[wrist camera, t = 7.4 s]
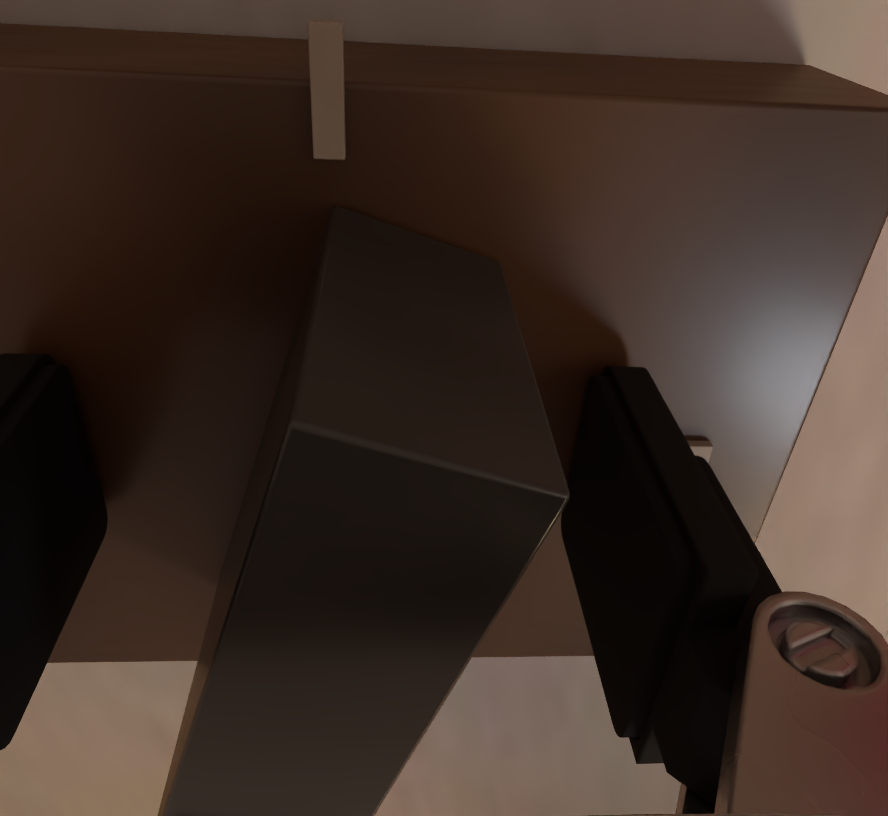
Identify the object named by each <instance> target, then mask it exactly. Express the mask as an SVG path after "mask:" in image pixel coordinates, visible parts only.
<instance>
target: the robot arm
mask: <svg viewBox="0 0 888 816" xmlns="http://www.w3.org/2000/svg"><path fill="white" fill-rule="evenodd" d="M567 485H568V489H569V492H570V497H569V501H568V503H567V504H566V506H565V507H564V509H563V511H562V515H561V532H562V538H563V542H564V546H565V549H566V553H567V557H568V561H569V564H570V568H571V572H572V575H573V579H574V583H575V586H576V590H577V594H578V598H579V601H580V605H581V609H582V612H583V616H584V620H585V623H586V627H587V631H588V634H589V638H590V642H591V646H592V649H593V653H594V657H595V660H596V664H597V668H598V671H599V675H600V679H601V682H602V686H603V690H604V694H605V697H606V701H607V705H608V708H609V712H610V716H611V719H612V723H613V726H614V729H615V732H616V734H617V735H618V736H619V737H620V738H622V737H629V739H630V743H631V746H632V750H633V753H634V757H635V760H636V764H650V763H664V765H665V768H666V771H667V773H669V774H670V775H671V776H673V777H674V778H675V779H677V780H678V781H679V782H681V786H680V792H679V797H678V802H677V807H676V812H675V814H632V815H589V816H888V644H887V642H886V641H885V639H884V638H883V636H882V635H881V634H880V633H879V632H878V631H877V630H876V629H875V628H874V627H873V626H872V625H871V624H870V623H869V622H868V621H867V620H866V619H865V618H863V617H862V616H860V615H859V614H857V613H856V612H854V611H853V610H851V609H850V608H848V607H847V606H845V605H843V604H840V603H838V602H836V601H833V600H831V599H829V598H827V597H824V596H820V595H815V594H811V593H807V592H782V591H781V589H780V588H779V586H778V584H777V582H776V581H775V579H774V577H773V575H772V574H771V572H770V570H769V568H768V567H767V565H766V563H765V561H764V560H763V558H762V556H761V554H760V552H759V551H758V549H757V547H756V545H755V544H754V542H753V540H752V538H751V537H750V535H749V533H748V531H747V530H746V528H745V526H744V524H743V523H742V521H741V519H740V517H739V516H738V514H737V512H736V510H735V509H734V507H733V505H732V503H731V502H730V500H729V498H728V496H727V494H726V493H725V491H724V489H723V487H722V486H721V484H720V482H719V480H718V479H717V477H716V475H715V473H714V472H713V470H712V468H711V466H710V465H709V464H708V462H707V461H706V460H705V459H704V458H703V457H700V456H695V455H694V453H693V451H692V449H691V448H690V446H689V444H688V442H687V440H686V439H685V437H684V435H683V433H682V431H681V429H680V428H679V426H678V424H677V422H676V420H675V419H674V417H673V415H672V413H671V411H670V410H669V408H668V406H667V404H666V402H665V400H664V399H663V397H662V395H661V393H660V391H659V390H658V388H657V386H656V384H655V382H654V381H653V379H652V377H651V375H650V373H649V372H648V370H647V369H646V368H645V367H620V366H606V367H605V368H604V369H603V371H602V373H601V376H591V377H590V379H589V381H588V384H587V389H586V394H585V399H584V404H583V409H582V414H581V419H580V424H579V429H578V434H577V439H576V444H575V449H574V454H573V459H572V464H571V469H570V474H569V479H568V484H567ZM107 524H108V514H107V509H106V505H105V501H104V497H103V494H102V490H101V486H100V482H99V479H98V475H97V471H96V467H95V464H94V460H93V456H92V452H91V449H90V445H89V441H88V437H87V434H86V430H85V426H84V422H83V419H82V415H81V411H80V407H79V404H78V400H77V396H76V392H75V389H74V385H73V381H72V377H71V374H70V371H69V370H68V368H67V367H66V366H64V365H57V364H56V361H55V360H54V359H53V357H52V356H50V355H48V354H21V353H4V354H1V355H0V750H2V749H4V748H6V746H7V745H8V744H9V743H10V741H11V740H12V738H13V736H14V734H15V732H16V730H17V727H18V725H19V723H20V721H21V719H22V716H23V714H24V712H25V710H26V708H27V706H28V703H29V701H30V699H31V697H32V695H33V692H34V690H35V688H36V686H37V684H38V682H39V679H40V677H41V675H42V673H43V671H44V668H45V666H46V664H47V662H48V660H49V657H50V655H51V653H52V651H53V649H54V647H55V644H56V642H57V640H58V638H59V636H60V633H61V631H62V629H63V627H64V625H65V623H66V620H67V618H68V616H69V614H70V612H71V609H72V607H73V605H74V603H75V601H76V599H77V596H78V594H79V592H80V590H81V588H82V585H83V583H84V581H85V579H86V577H87V574H88V572H89V570H90V568H91V566H92V564H93V561H94V559H95V557H96V555H97V553H98V550H99V548H100V546H101V544H102V542H103V540H104V537H105V534H106V530H107Z"/></svg>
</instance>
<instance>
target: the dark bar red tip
mask: <svg viewBox="0 0 888 816" xmlns="http://www.w3.org/2000/svg"><path fill="white" fill-rule="evenodd" d="M569 497H570V492H569V489H568V485H567V482H566V479H565V475H564V472H563V469H562V465H561V462H560V459H559V455H558V452H557V449H556V445H555V442H554V439H553V435H552V432H551V429H550V425H549V422H548V419H547V415H546V412H545V409H544V405H543V402H542V399H541V395H540V392H539V389H538V385H537V382H536V379H535V375H534V372H533V369H532V365H531V362H530V359H529V355H528V352H527V349H526V345H525V342H524V339H523V335H522V332H521V329H520V325H519V322H518V319H517V315H516V312H515V309H514V305H513V302H512V299H511V295H510V292H509V289H508V285H507V282H506V279H505V276H504V272H503V269H502V266H501V263H499V262H498V261H495V260H493V259H490V258H487V257H484V256H481V255H478V254H475V253H472V252H469V251H466V250H464V249H461V248H458V247H455V246H452V245H449V244H446V243H443V242H440V241H437V240H435V239H432V238H429V237H426V236H423V235H420V234H417V233H414V232H411V231H408V230H405V229H403V228H400V227H397V226H394V225H391V224H388V223H385V222H382V221H379V220H376V219H374V218H371V217H368V216H365V215H362V214H359V213H356V212H353V211H350V210H347V209H345V208H342V207H339V206H334V207H333V209H332V210H331V214H330V217H329V220H328V223H327V227H326V230H325V233H324V237H323V240H322V243H321V246H320V250H319V253H318V256H317V260H316V263H315V266H314V270H313V273H312V276H311V279H310V283H309V286H308V289H307V293H306V296H305V299H304V302H303V306H302V309H301V312H300V316H299V319H298V322H297V326H296V329H295V332H294V335H293V339H292V342H291V345H290V349H289V352H288V355H287V358H286V362H285V365H284V368H283V372H282V375H281V378H280V382H279V385H278V388H277V391H276V395H275V398H274V401H273V405H272V408H271V411H270V415H269V418H268V421H267V424H266V428H265V431H264V434H263V438H262V441H261V444H260V447H259V451H258V454H257V457H256V461H255V464H254V467H253V471H252V474H251V477H250V480H249V484H248V487H247V490H246V494H245V497H244V500H243V503H242V507H241V510H240V513H239V517H238V520H237V523H236V527H235V530H234V533H233V536H232V540H231V543H230V546H229V550H228V553H227V556H226V559H225V563H224V566H223V569H222V573H221V576H220V579H219V583H218V586H217V589H216V593H215V597H214V601H213V604H212V608H211V612H210V616H209V620H208V624H207V627H206V631H205V635H204V639H203V643H202V647H201V651H200V654H199V658H198V662H197V666H196V670H195V674H194V677H193V681H192V685H191V689H190V693H189V697H188V701H187V704H186V708H185V712H184V716H183V720H182V724H181V727H180V731H179V735H178V739H177V743H176V747H175V750H174V754H173V758H172V762H171V766H170V770H169V774H168V777H167V781H166V785H165V789H164V793H163V797H162V800H161V804H160V808H159V812H158V816H374V815H375V813H376V811H377V810H378V808H379V807H380V805H381V803H382V802H383V800H384V798H385V797H386V795H387V794H388V792H389V790H390V789H391V787H392V786H393V784H394V782H395V781H396V779H397V777H398V776H399V774H400V773H401V771H402V769H403V768H404V766H405V764H406V763H407V761H408V760H409V758H410V756H411V755H412V753H413V752H414V750H415V748H416V747H417V745H418V743H419V742H420V740H421V739H422V737H423V735H424V734H425V732H426V731H427V729H428V727H429V726H430V724H431V722H432V721H433V719H434V718H435V716H436V714H437V713H438V711H439V710H440V708H441V706H442V705H443V703H444V701H445V700H446V698H447V697H448V695H449V693H450V692H451V690H452V689H453V687H454V685H455V684H456V682H457V680H458V679H459V677H460V676H461V674H462V672H463V671H464V669H465V668H466V666H467V664H468V663H469V661H470V659H471V658H472V656H473V655H474V653H475V651H476V650H477V648H478V646H479V645H480V643H481V642H482V640H483V638H484V637H485V635H486V634H487V632H488V630H489V629H490V627H491V625H492V624H493V622H494V621H495V619H496V617H497V616H498V614H499V613H500V611H501V609H502V608H503V606H504V604H505V603H506V601H507V600H508V598H509V596H510V595H511V593H512V592H513V590H514V588H515V587H516V585H517V583H518V582H519V580H520V579H521V577H522V575H523V574H524V572H525V571H526V569H527V567H528V566H529V564H530V562H531V561H532V559H533V558H534V556H535V554H536V553H537V551H538V549H539V548H540V546H541V545H542V543H543V541H544V540H545V538H546V537H547V535H548V533H549V532H550V530H551V528H552V527H553V525H554V524H555V522H556V520H557V519H558V517H559V516H560V514H561V512H562V511H563V509H564V507H565V506H566V504H567V503H568V501H569Z"/></svg>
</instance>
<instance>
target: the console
mask: <svg viewBox="0 0 888 816" xmlns="http://www.w3.org/2000/svg"><path fill="white" fill-rule="evenodd" d="M334 206H339V207H342V208H345V209H347V210H350V211H353V212H356V213H359V214H362V215H365V216H368V217H371V218H374V219H376V220H379V221H382V222H385V223H388V224H391V225H394V226H397V227H400V228H403V229H405V230H408V231H411V232H414V233H417V234H420V235H423V236H426V237H429V238H432V239H435V240H437V241H440V242H443V243H446V244H449V245H452V246H455V247H458V248H461V249H464V250H466V251H469V252H472V253H475V254H478V255H481V256H484V257H487V258H490V259H493V260H495V261H498V262H499V263H501V266H502V269H503V272H504V276H505V279H506V282H507V285H508V289H509V292H510V295H511V299H512V302H513V305H514V309H515V312H516V315H517V319H518V322H519V325H520V329H521V332H522V335H523V339H524V342H525V345H526V349H527V352H528V355H529V359H530V362H531V365H532V369H533V372H534V375H535V379H536V382H537V385H538V389H539V392H540V395H541V399H542V402H543V405H544V409H545V412H546V415H547V419H548V422H549V425H550V429H551V432H552V435H553V439H554V442H555V445H556V449H557V452H558V455H559V459H560V462H561V465H562V469H563V472H564V475H565V479H566V482H567V484H568V479H569V474H570V469H571V464H572V459H573V454H574V449H575V444H576V439H577V434H578V429H579V424H580V419H581V414H582V409H583V404H584V399H585V394H586V389H587V384H588V381H589V379H590V377H591V376H601V373H602V371H603V369H604V368H605V367H606V366H620V367H645V368H646V369H647V370H648V372H649V373H650V375H651V377H652V379H653V381H654V382H655V384H656V386H657V388H658V390H659V391H660V393H661V395H662V397H663V399H664V400H665V402H666V404H667V406H668V408H669V410H670V411H671V413H672V415H673V417H674V419H675V420H676V422H677V424H678V426H679V428H680V429H681V431H682V433H683V435H684V437H685V439H686V440H687V442H688V444H689V446H690V448H691V449H692V451H693V453H694V455H695V456H700V457H703V458H704V459H705V460H706V461H707V462H708V464H709V465H710V466H711V468H712V470H713V472H714V473H715V475H716V477H717V479H718V480H719V482H720V484H721V486H722V487H723V489H724V491H725V493H726V494H727V496H728V498H729V500H730V502H731V503H732V505H733V507H734V509H735V510H736V512H737V514H738V516H739V517H740V519H741V521H742V523H743V524H744V526H745V528H746V530H747V531H748V533H749V535H750V537H751V538H752V540H753V542H754V544H755V542H756V539H757V537H758V534H759V532H760V529H761V527H762V525H763V522H764V520H765V517H766V515H767V512H768V510H769V507H770V505H771V502H772V500H773V497H774V495H775V492H776V490H777V487H778V485H779V483H780V480H781V478H782V475H783V473H784V470H785V468H786V465H787V463H788V460H789V458H790V455H791V453H792V450H793V448H794V445H795V443H796V440H797V438H798V436H799V433H800V431H801V428H802V426H803V423H804V421H805V418H806V416H807V413H808V411H809V408H810V406H811V403H812V401H813V398H814V396H815V394H816V391H817V389H818V386H819V384H820V381H821V379H822V376H823V374H824V371H825V369H826V366H827V364H828V361H829V359H830V356H831V354H832V352H833V349H834V347H835V344H836V342H837V339H838V337H839V334H840V332H841V329H842V327H843V324H844V322H845V319H846V317H847V314H848V312H849V309H850V307H851V305H852V302H853V300H854V297H855V295H856V292H857V290H858V287H859V285H860V282H861V280H862V277H863V275H864V272H865V270H866V267H867V265H868V263H869V260H870V258H871V255H872V253H873V250H874V248H875V245H876V243H877V240H878V238H879V235H880V233H881V230H882V228H883V225H884V223H885V221H886V218H887V216H888V95H886V94H883V93H881V92H878V91H876V90H873V89H870V88H868V87H865V86H862V85H860V84H857V83H855V82H852V81H849V80H847V79H844V78H841V77H839V76H836V75H834V74H831V73H828V72H826V71H823V70H820V69H818V68H815V67H813V66H810V65H791V64H772V63H753V62H734V61H714V60H695V59H676V58H656V57H637V56H618V55H599V54H579V53H560V52H541V51H522V50H502V49H483V48H464V47H445V46H425V45H406V44H387V43H368V42H348V41H344V33H343V22H342V21H331V20H313V19H310V20H309V21H308V39H291V38H271V37H252V36H233V35H214V34H194V33H175V32H156V31H137V30H117V29H98V28H79V27H60V26H40V25H21V24H2V23H0V355H1V354H4V353H21V354H48V355H50V356H52V357H53V359H54V360H55V361H56V364H57V365H64V366H66V367H67V368H68V370H69V371H70V374H71V377H72V381H73V385H74V389H75V392H76V396H77V400H78V404H79V407H80V411H81V415H82V419H83V422H84V426H85V430H86V434H87V437H88V441H89V445H90V449H91V452H92V456H93V460H94V464H95V467H96V471H97V475H98V479H99V482H100V486H101V490H102V494H103V497H104V501H105V505H106V509H107V514H108V524H107V530H106V534H105V537H104V540H103V542H102V544H101V546H100V548H99V550H98V553H97V555H96V557H95V559H94V561H93V564H92V566H91V568H90V570H89V572H88V574H87V577H86V579H85V581H84V583H83V585H82V588H81V590H80V592H79V594H78V596H77V599H76V601H75V603H74V605H73V607H72V609H71V612H70V614H69V616H68V618H67V620H66V623H65V625H64V627H63V629H62V631H61V633H60V636H59V638H58V640H57V642H56V644H55V647H54V649H53V651H52V653H51V655H50V657H49V660H48V662H47V663H62V662H140V661H198V658H199V654H200V651H201V647H202V643H203V639H204V635H205V631H206V627H207V624H208V620H209V616H210V612H211V608H212V604H213V601H214V597H215V593H216V589H217V586H218V583H219V579H220V576H221V573H222V569H223V566H224V563H225V559H226V556H227V553H228V550H229V546H230V543H231V540H232V536H233V533H234V530H235V527H236V523H237V520H238V517H239V513H240V510H241V507H242V503H243V500H244V497H245V494H246V490H247V487H248V484H249V480H250V477H251V474H252V471H253V467H254V464H255V461H256V457H257V454H258V451H259V447H260V444H261V441H262V438H263V434H264V431H265V428H266V424H267V421H268V418H269V415H270V411H271V408H272V405H273V401H274V398H275V395H276V391H277V388H278V385H279V382H280V378H281V375H282V372H283V368H284V365H285V362H286V358H287V355H288V352H289V349H290V345H291V342H292V339H293V335H294V332H295V329H296V326H297V322H298V319H299V316H300V312H301V309H302V306H303V302H304V299H305V296H306V293H307V289H308V286H309V283H310V279H311V276H312V273H313V270H314V266H315V263H316V260H317V256H318V253H319V250H320V246H321V243H322V240H323V237H324V233H325V230H326V227H327V223H328V220H329V217H330V214H331V210H332V209H333V207H334ZM561 515H562V512H561V514H560V516H559V517H558V519H557V520H556V522H555V524H554V525H553V527H552V528H551V530H550V532H549V533H548V535H547V537H546V538H545V540H544V541H543V543H542V545H541V546H540V548H539V549H538V551H537V553H536V554H535V556H534V558H533V559H532V561H531V562H530V564H529V566H528V567H527V569H526V571H525V572H524V574H523V575H522V577H521V579H520V580H519V582H518V583H517V585H516V587H515V588H514V590H513V592H512V593H511V595H510V596H509V598H508V600H507V601H506V603H505V604H504V606H503V608H502V609H501V611H500V613H499V614H498V616H497V617H496V619H495V621H494V622H493V624H492V625H491V627H490V629H489V630H488V632H487V634H486V635H485V637H484V638H483V640H482V642H481V643H480V645H479V646H478V648H477V650H476V651H475V653H474V655H473V656H472V657H534V656H594V653H593V649H592V646H591V642H590V638H589V634H588V631H587V627H586V623H585V620H584V616H583V612H582V609H581V605H580V601H579V598H578V594H577V590H576V586H575V583H574V579H573V575H572V572H571V568H570V564H569V561H568V557H567V553H566V549H565V546H564V542H563V538H562V532H561Z"/></svg>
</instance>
